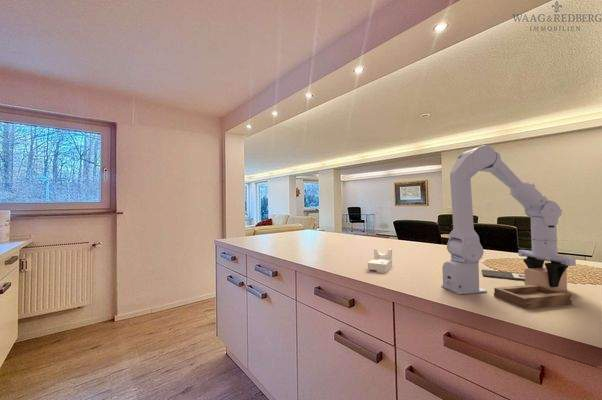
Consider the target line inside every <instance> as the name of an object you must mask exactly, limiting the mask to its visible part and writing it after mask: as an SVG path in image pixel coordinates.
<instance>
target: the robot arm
mask: <svg viewBox="0 0 602 400" xmlns="http://www.w3.org/2000/svg"><path fill="white" fill-rule="evenodd" d="M479 172H483V173H490V174H491V175H493V176H494V178H497V179H498V180H499V181H500V182H501V183H502V184H504V185H505V186H506V187H507V188H509V189H510V191H509V194H510V195H511V197H513V198H514V199H515V201H517V202H518V203H519V204H520V205H521V206H522V207H523V208H524V213H525V215H526V216H528V217H529V218H530V236H531V238H530V239H531V250H527V249H518V256H519V257H524V258H523V263H524V264H525V265H526V267H527V269H530V268H544V266H545V267H546V268H547V271H548V276H549V285H550V287H558V285H559V282H560V279H561V276H562V275H563V273H564V271H565V270H566V271H567V269H568V268H569V267H573V266H575V267H576V265H577V264H576V258H573V257H569V256H564V255H560V254H559V252H558V233H557V231H558V229H557V225H558V224H559V218H560V216H561V215H562V214H563V209H562V208H561V207H560V205H559V204H558V203H557V202H555V201H553V200H548V198H547V196H546V195H545V194H542V192H540V191H539V190H538V189H537V188H536V185H535V184H534V183H530V182H529V181H522V180H521V179H520V178H519V177H518V176H517V175H516V174H515V173H514V172H513V170H512V169H510V167H509V166H508V165H507V164H506V163H505V162H504V161H503V160H502V157H501V154H500V153H499V152H498V151H496V150H495V148H494V147H492V146H490V145H488V144H487V145H485V144H483V145H480V146H478V147H475V148H472V149H469V150H466V151H463V152H462V153H460V154H459V155H458V156H456V158H455V162H454V164H453V167H452V168H451V171H450V173H449V180H450V194H451V196H450V197H451V210H452V215H451V216H452V230H451V231H450V232H449V235H448V237H449V238H448V241H447V244H446V249H447V252H448V253H449V254H450V260H448V261H444V262H443V263H442V284H441V287H442V288H444V289H447V290H449V291H451V292H453V293H456V294H458V295H465V294H466V295H467V294H478V293H487V292H488V290H487V289H484V288H482V287H480V267H479V266H480V264H479V263H480V260H481V259H482V258H483V256H484V248H483V246H482V244H481V242H480V236H479V234H478V233H477V232H476V230H475V229H474V227H475V225H474V213H473V210H474V209H473V198H472V197H473V196H472V195H473V194H472V182H471V179H472V178H473V177H474V176H475V175H476V174H478V173H479ZM545 261H546V262H545Z"/></svg>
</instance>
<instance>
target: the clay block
mask: <svg viewBox="0 0 602 400" xmlns="http://www.w3.org/2000/svg"><path fill="white" fill-rule="evenodd" d="M523 270H524V272H523V273H524V274H525V281H524V285H535V284H537V285H540V286H544V287H547V288H551V289H554V290H557V291H561V292H563V291H567V290H568V281H567V280H568V279H567V269H566V270H565V271H564V273H563V275H562V276H561V279H560V282H559V285H558V287H550V285H549V276H548V271H547V268H546V266H545V267H544V266H543V268H530V269H529V268H524V269H523Z"/></svg>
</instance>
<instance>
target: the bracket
mask: <svg viewBox="0 0 602 400" xmlns="http://www.w3.org/2000/svg"><path fill="white" fill-rule="evenodd" d="M392 267H393V249H392V248H388V251H387V253H382V252H380V251H379V249H378V247H374V248H373V258H372V259H371V260H369V261H368V262H367V270H373V271H376V273H383V274H384V273H385V274H387V272H389V270H390V269H391V268H392Z"/></svg>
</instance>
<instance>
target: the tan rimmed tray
mask: <svg viewBox="0 0 602 400" xmlns="http://www.w3.org/2000/svg"><path fill="white" fill-rule="evenodd" d="M493 290H494V291H493V297H495V298H497V299H499V300H501V301H505V302H507V303H510V304H512V305H514V306H518V307H519V308H522V309H525V310H526V309H527V310H528V309H538V308H549V307H550V308H551V307H561V306H568V305H573V300H572V298H571V297H572V296H571V295H572V294H571V293H567V292H564V291H557V290H554V289H551V288H547V287H544V286H540V285H537V284H535V285H525V284H524V285H513V286H512V285H511V286H501V287H500V286H498V287H494V289H493Z"/></svg>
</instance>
